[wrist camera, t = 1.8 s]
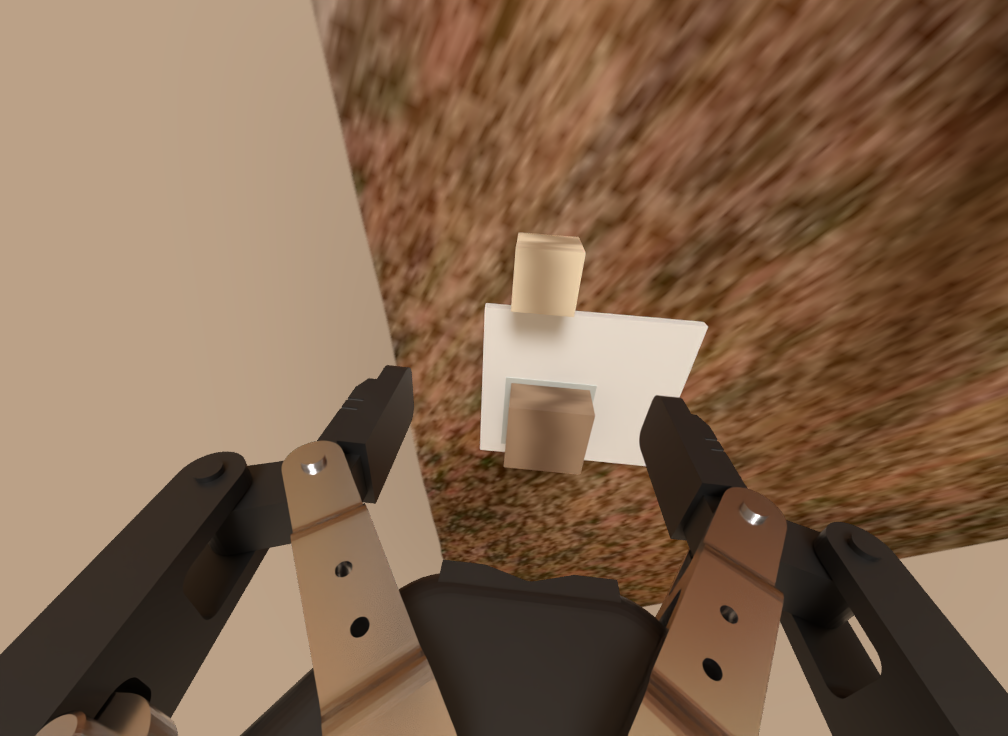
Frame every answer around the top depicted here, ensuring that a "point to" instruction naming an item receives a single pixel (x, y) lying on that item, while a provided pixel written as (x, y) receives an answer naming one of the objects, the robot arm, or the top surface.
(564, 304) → the maple cube
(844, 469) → the top surface
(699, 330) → the plate
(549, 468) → the walnut base
